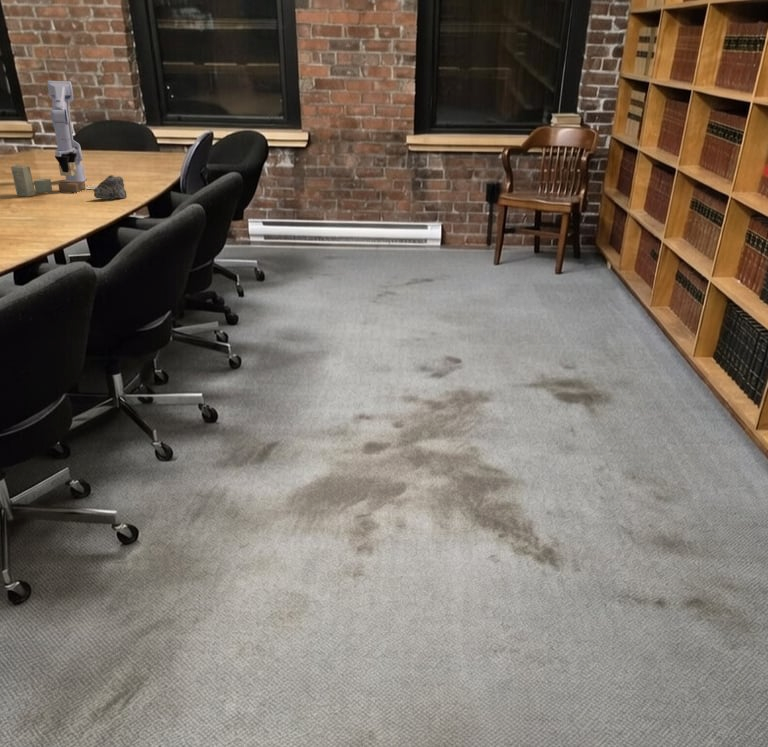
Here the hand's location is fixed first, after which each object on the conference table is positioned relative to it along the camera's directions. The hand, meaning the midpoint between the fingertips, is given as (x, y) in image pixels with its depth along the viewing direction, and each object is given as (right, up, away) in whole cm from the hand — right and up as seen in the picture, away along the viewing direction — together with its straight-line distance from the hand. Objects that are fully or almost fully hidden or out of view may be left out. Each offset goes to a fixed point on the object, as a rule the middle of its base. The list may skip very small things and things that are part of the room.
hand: (68, 171), depth 293 cm
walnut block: (0, -8, +4) cm, 9 cm away
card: (+6, -4, +12) cm, 14 cm away
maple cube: (0, -1, +1) cm, 2 cm away
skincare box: (-14, -13, -9) cm, 21 cm away
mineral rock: (+22, -14, -7) cm, 27 cm away
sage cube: (-11, -9, 0) cm, 14 cm away
